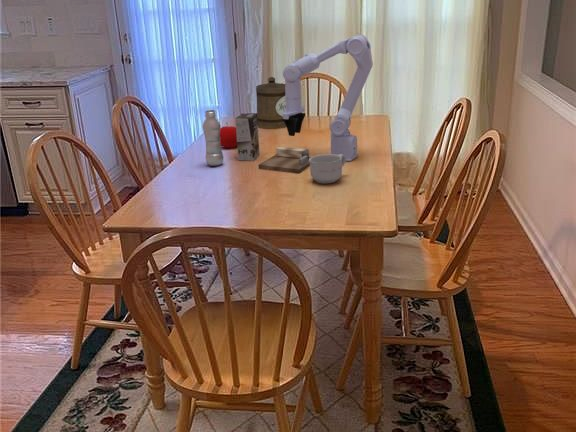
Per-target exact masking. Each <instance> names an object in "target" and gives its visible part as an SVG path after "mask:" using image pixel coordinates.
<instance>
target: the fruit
mask: <svg viewBox="0 0 576 432" xmlns="http://www.w3.org/2000/svg"><path fill="white" fill-rule="evenodd" d="M225 124H226V125H225V126H221V127H220V144H221V148H224V149H234V148H235V147H237V134H236V126H228V122H226V123H225Z"/></svg>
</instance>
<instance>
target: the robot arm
mask: <svg viewBox="0 0 576 432" xmlns="http://www.w3.org/2000/svg"><path fill="white" fill-rule="evenodd" d="M371 48H372V47H371V44H370V42H369V40H368V38H367V37H366V35H363V34H360V33H358V34H355V35H354V36H351V37H348V38H345V39H342V40H339V41H338V42H336V43H335V44H333V45H331V46H330V47H327V48H326V49H324V50H323V51H320V52H319V53H313V52H311V53H308V52H307V53H305V54H304V55H303V57H301V58H299V59H298V60H297V59H295V60H293V63H290V64H288V65H287V66H285V67H284V69H283V71H282V77H283V78H284V82H285V83H284V84H285V95H286V109H284V110H283V111H284V113H283V117H282V119H283V121H284V123H285V125H286V127H285V128H286V129H287V130H286V131H287V133H288V136H289V137H294V136H295V135H296V134H300V133H301V131H302V126H303V125H302V124H303V122H304V118H305V117H306V112H305V109H306V108H305V106H304V105H302V85H301V78H302V77H304V76H306V75H307V74H310V73H312V72H314V71H315V70H317V69H319V68H320V65H321V63H322V62H325V61H327V60H329V59H331V58H333V57H335V56H336V55H339V54H343V55H347V54H349V55H350V56H351V57H352V58H353V59H354V62H355V64H356V66H357V68H356V71H355V73H354V75H353V78H352V80H351V83H350V84H349V87H348V89H347V92H346V94H345V96H344V99H343V101H342V103H341V106H340V107H339V110H338V112H337V114H336V116H335V117H334V119H332V120H331V122H330V124H329V130H330V154H335V155H339V154H343V155H344V156H345V157H346V162H352V161H353V160H354V159H356V157H358V155H359V154H358V137H357V136H356V135H355V134H351V131H350V129H349V127H350V126H351V122H352V121H351V118H352V115H353V112H354V110H355V107H356V105H357V102H358V100H359V98H360V95H361V94H362V92H363V89H364V86H365V84H366V82H367V80H368V77H369V74H370V72H371V71H372V68H373V63H374V62H373V56H372V55H373V54H372V49H371Z"/></svg>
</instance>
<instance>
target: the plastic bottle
mask: <svg viewBox="0 0 576 432" xmlns="http://www.w3.org/2000/svg"><path fill="white" fill-rule="evenodd" d="M204 113H205V115H204V116H205V119H204V121H203V123H202V131H203V135H204V139H205V140H204V141H205V161H206V164H207V165H208V166H211V167H215V166H221V165H222V164H223V163H224V154H223V150H222V146H221V144H220V128H221V123H220V121H219V120H218V119H217V118H216V117H217V114H216V110H214V109H208V110H205V111H204Z"/></svg>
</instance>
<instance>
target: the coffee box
mask: <svg viewBox="0 0 576 432" xmlns="http://www.w3.org/2000/svg"><path fill="white" fill-rule="evenodd" d="M235 127H236V134H237V146H236V147H237V149H236V150H237V159H238V161H249V162H250V161H252V162H253V161H255V160H256V159H257V158H258V156H259V155H260V154H261V153H260V141H259V140H260V138H259V127H258V119H257V112H255V113H254V112H251V113H249V112H248V113H241V114H239V115H238V116H236V117H235Z"/></svg>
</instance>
